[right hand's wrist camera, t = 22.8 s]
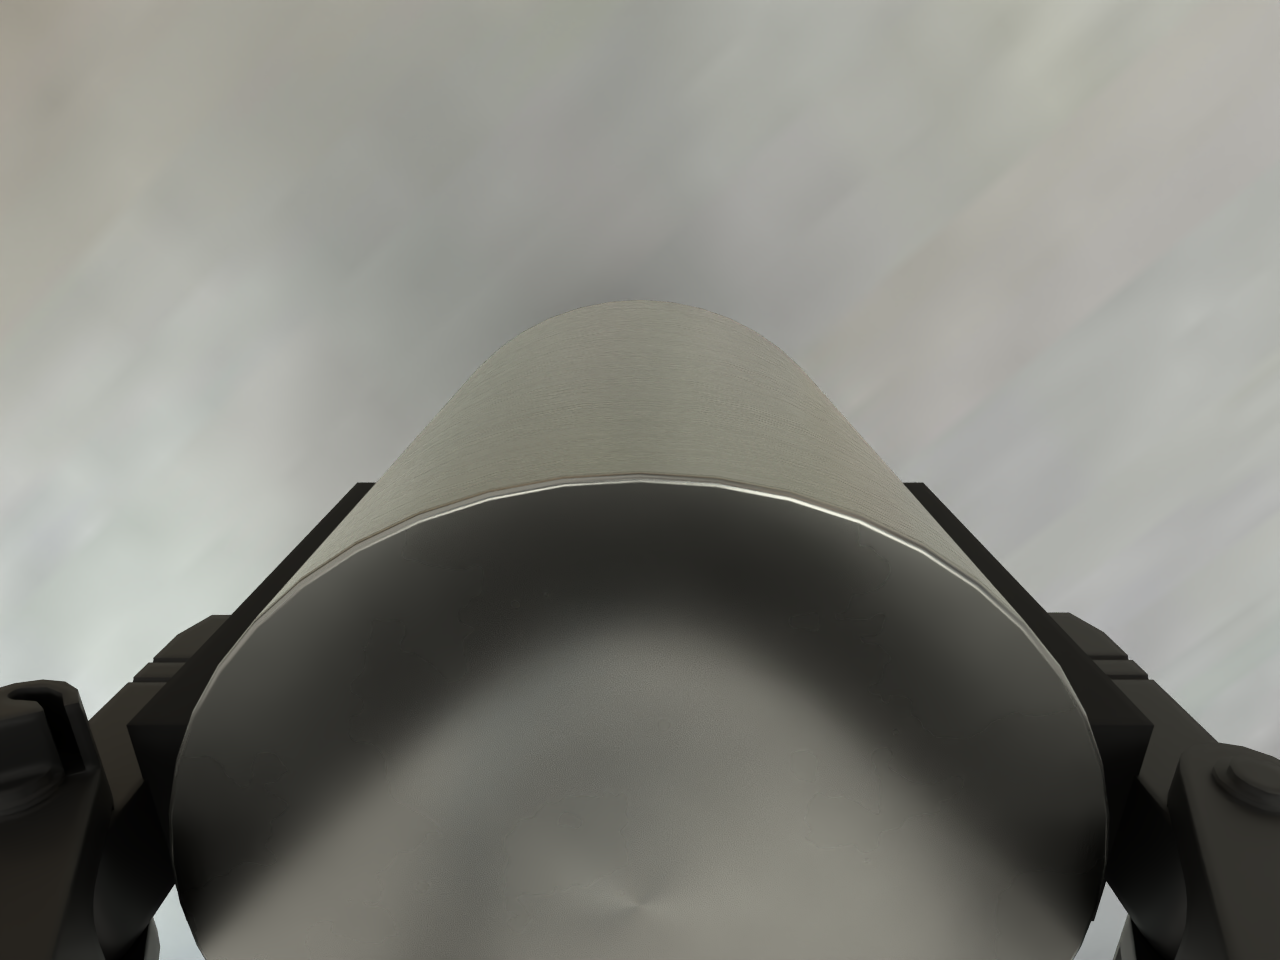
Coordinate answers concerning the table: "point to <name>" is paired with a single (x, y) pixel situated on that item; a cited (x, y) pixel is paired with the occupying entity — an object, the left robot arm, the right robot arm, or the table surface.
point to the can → (639, 693)
